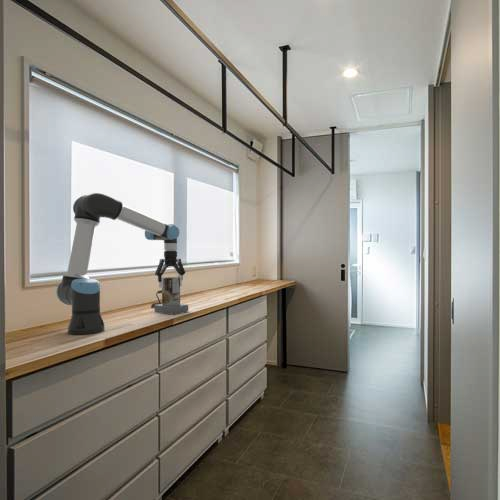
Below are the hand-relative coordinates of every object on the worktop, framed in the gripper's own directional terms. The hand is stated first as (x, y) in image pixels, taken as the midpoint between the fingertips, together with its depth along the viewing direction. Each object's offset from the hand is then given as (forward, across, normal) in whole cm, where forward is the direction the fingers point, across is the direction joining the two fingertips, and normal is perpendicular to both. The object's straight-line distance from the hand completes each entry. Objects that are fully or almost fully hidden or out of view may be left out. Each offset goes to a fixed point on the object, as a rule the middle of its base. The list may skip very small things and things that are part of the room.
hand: (170, 286), depth 215 cm
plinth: (+15, 0, 0) cm, 15 cm away
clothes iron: (+15, -10, -21) cm, 28 cm away
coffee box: (+11, 0, 0) cm, 11 cm away
